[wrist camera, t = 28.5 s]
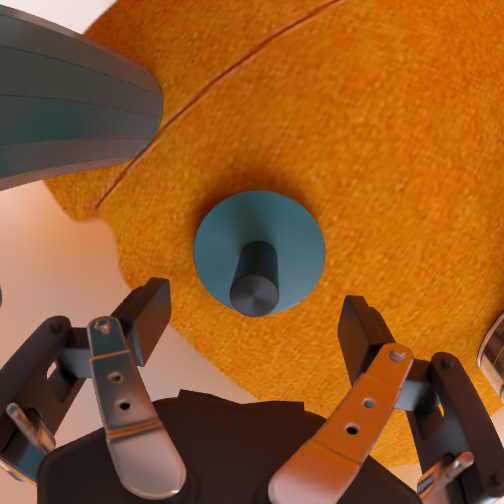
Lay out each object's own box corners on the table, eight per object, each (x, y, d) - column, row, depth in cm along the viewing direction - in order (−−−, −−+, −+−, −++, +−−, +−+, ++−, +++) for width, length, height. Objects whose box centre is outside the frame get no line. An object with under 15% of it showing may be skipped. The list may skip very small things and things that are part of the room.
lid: (198, 300, 21) (174, 352, 15) (198, 184, 18) (164, 201, 12) (312, 310, 20) (324, 366, 15) (330, 195, 17) (358, 217, 12)
